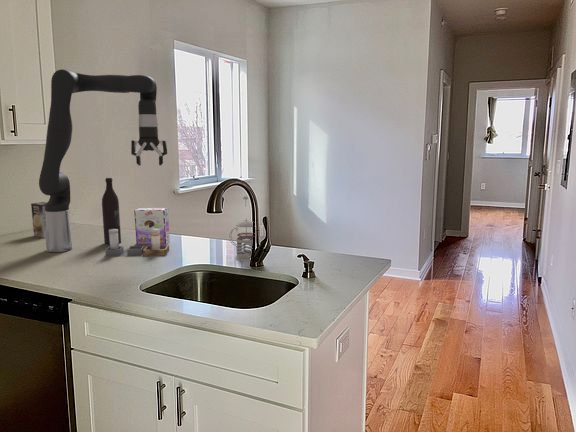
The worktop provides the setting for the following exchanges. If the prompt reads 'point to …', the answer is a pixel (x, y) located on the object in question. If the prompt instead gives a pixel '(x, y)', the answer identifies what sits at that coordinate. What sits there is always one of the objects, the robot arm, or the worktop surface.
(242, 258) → the french press
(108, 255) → the fuse holder
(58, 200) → the robot arm
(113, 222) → the wine bottle
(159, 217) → the candy box
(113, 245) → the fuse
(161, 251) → the walnut tray
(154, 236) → the marked fuse
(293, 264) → the worktop surface
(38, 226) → the coffee box
